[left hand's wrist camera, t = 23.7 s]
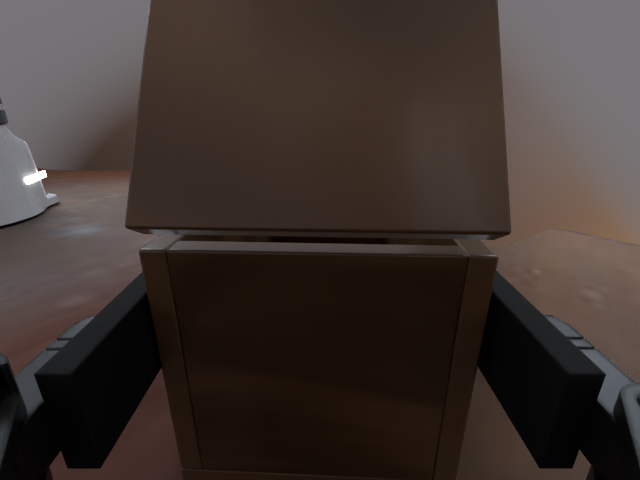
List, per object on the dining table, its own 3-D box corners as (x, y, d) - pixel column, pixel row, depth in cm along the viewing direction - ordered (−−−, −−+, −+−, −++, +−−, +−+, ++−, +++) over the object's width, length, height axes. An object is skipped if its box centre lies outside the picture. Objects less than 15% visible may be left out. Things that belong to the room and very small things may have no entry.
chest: (270, 271, 29) (264, 158, 26) (387, 274, 29) (396, 159, 25) (183, 484, 13) (136, 249, 10) (452, 497, 12) (500, 256, 9)
